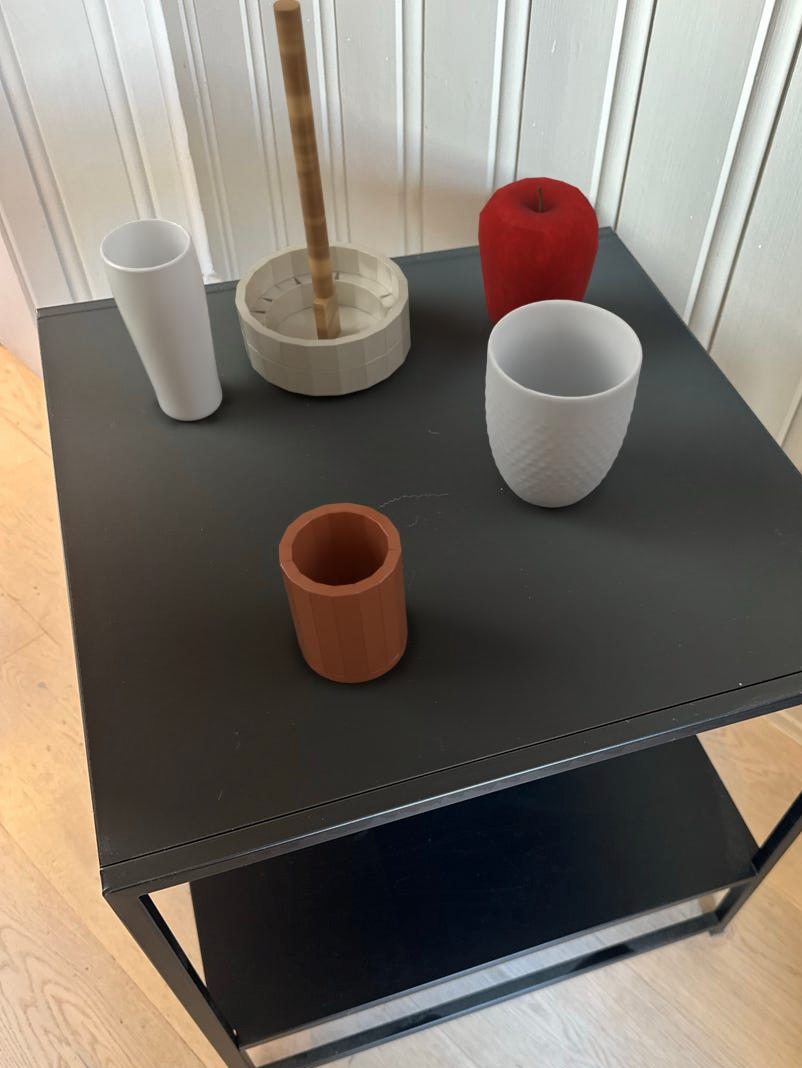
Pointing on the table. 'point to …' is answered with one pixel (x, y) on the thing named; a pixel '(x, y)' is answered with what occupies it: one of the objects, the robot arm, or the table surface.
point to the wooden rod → (307, 164)
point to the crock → (346, 590)
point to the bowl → (290, 329)
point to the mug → (559, 397)
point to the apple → (536, 244)
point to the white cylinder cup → (165, 313)
